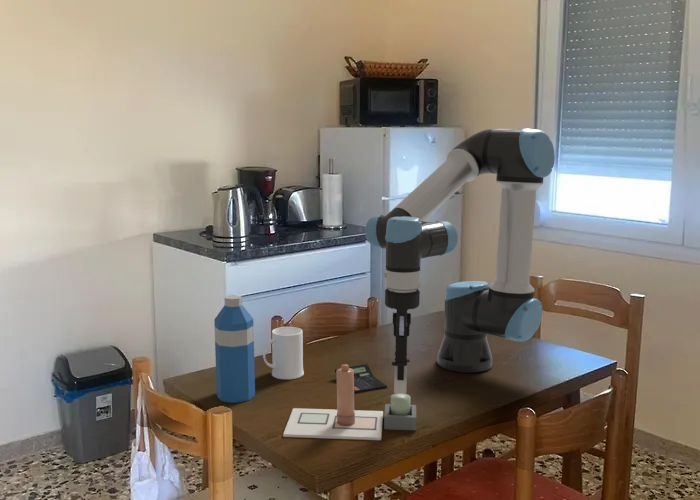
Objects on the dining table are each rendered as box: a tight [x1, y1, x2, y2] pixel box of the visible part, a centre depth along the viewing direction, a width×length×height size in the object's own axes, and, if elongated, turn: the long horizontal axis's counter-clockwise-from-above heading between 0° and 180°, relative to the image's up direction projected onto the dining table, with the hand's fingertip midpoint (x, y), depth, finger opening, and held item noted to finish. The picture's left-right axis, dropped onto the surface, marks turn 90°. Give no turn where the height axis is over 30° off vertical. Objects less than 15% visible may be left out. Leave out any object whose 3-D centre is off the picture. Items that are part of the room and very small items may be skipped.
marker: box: [335, 363, 355, 426], centre depth 158 cm, size 4×4×13 cm
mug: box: [262, 326, 305, 381], centre depth 189 cm, size 12×8×12 cm
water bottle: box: [213, 294, 256, 404], centre depth 174 cm, size 9×9×25 cm
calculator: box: [334, 363, 388, 395], centre depth 185 cm, size 9×12×3 cm
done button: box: [390, 393, 412, 415], centre depth 160 cm, size 4×4×4 cm
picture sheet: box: [282, 407, 384, 441], centre depth 160 cm, size 21×14×1 cm, turn 86°
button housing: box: [383, 403, 417, 431], centre depth 160 cm, size 7×7×3 cm
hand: (400, 391), depth 159 cm, fingers closed
